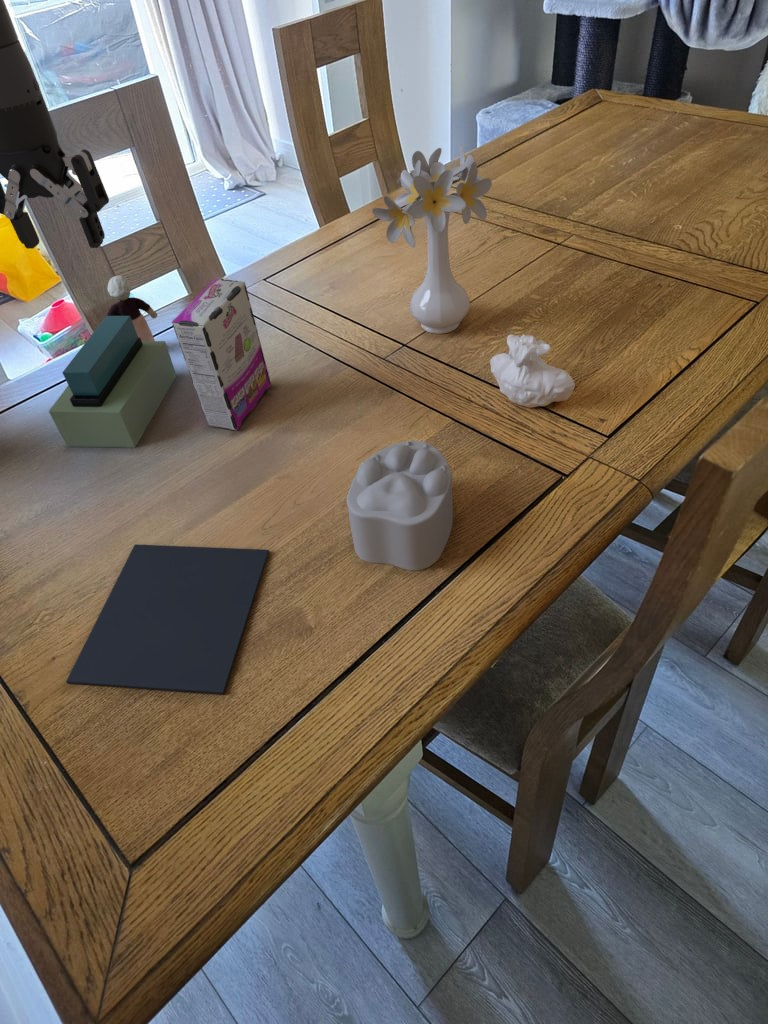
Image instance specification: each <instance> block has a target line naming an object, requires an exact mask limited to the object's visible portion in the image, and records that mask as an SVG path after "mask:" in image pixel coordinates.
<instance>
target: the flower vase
mask: <svg viewBox="0 0 768 1024" xmlns="http://www.w3.org/2000/svg"><path fill="white" fill-rule="evenodd" d="M442 150H443V149H442V148H441V147H438V148H436V149H435V150H434V151H433V152H432V153H431V155H430V156H429V158H428V161H427V159H426V157H425V155H424V153H423V152H422V151H420V150H416V151H415V152H414V153H413V154H412V155H411V165H412V168H413V169H412V170H410V171H408V170H407V169H403V170H402V171H401V173H400V177H399V178H398V179H397V182H396V183H397V185H398V186H402V188H403V189H404V190H405V192H402V193H400V194H399V195H398V196H397V197H396V198H395V200H393V199H392V198H391V196H388V195H384V196H383V202H384V204H385V206H386V207H387V208H385V207H373V208H372V209H371V212H372V214H373V216H375V217H376V218H377V219H378V220H380V221H383V222H390V223H389V224H388V225H387V228H386V239H387V241H388V242H390V243H391V244H393V243H396V242H397V241H398V240H399V238H400V237H401V235H402V236H403V238H404V240H405V242H406V243H407V244H408V246H410V247H411V248H415V247H416V241H415V237H414V234H413V231H412V227H413V226H414V225H415V223H416V221H415V220H418V219H422V218H424V219H425V224H426V233H427V235H426V236H427V264H426V271H425V275H424V278H423V281H422V283H421V284H420V285H419V286H418V287H417V288H416V289H415V290H414V291H413V293H412V295H411V297H410V302H409V306H408V307H409V312H410V314H411V316H412V318H414V320H415V321H416V322H418V324H419V325H420V327H421V328H422V329H423V331H425V332H427V333H428V334H429V333H430V334H435V335H443V334H448V333H451V332H453V331H455V330H456V329H458V327H459V326H460V324H461V322H462V320H464V319H465V318H466V316H467V314H468V313H469V311H470V308H471V300H470V297H469V295H468V292H467V291H466V289H465V288H464V287H463V286H462V285H461V284H460V283H458V282H457V280H456V279H455V276H454V275H453V272H452V267H451V262H450V261H451V260H450V246H449V224H450V223H449V222H450V216H451V213H457V212H458V213H459V212H461V215H462V216H461V217H462V222H463V223H464V224H465V225H467V224H468V223H469V222H470V220H471V217H472V212H473V213H474V215H475V216H476V217H477V218H478V219H480V220H482V221H484V220H486V218H487V214H488V213H487V209H486V206H485V203H483V201H482V200H481V199H479V198H482V197H483V196H485V195H486V194H488V192H489V191H490V190H491V188H492V185H493V182H492V179H490V178H489V177H484V178H482V177H481V176H479V175H478V172H479V169H478V164H477V162H476V161H475V158H474V157H473V155H472V154H468V155H467V157H466V154H465V151H464V149H463V146H462V144H461V142H459V141H458V151H459V165H458V166H454V167H452V168H450V169H446V168H445V165H444V163H442V162H441V161H439V160H440V158H441V155H442ZM460 181H462V182H460ZM456 183H458V184H457V185H456V189H455V191H456V192H453V193H450V194H448V193H449V192H450V190H451V188H452V185H454V184H456ZM403 207H404V208H403Z"/></svg>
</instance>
